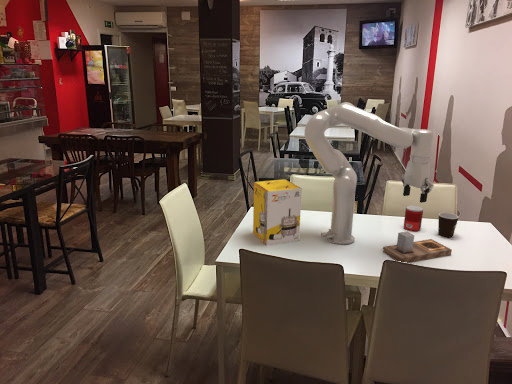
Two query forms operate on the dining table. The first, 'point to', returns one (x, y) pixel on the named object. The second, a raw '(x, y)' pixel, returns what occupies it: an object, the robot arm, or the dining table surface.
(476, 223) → the dining table surface
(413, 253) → the socket board
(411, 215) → the canned food
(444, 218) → the coffee mug
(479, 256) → the dining table surface
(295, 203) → the packaging box
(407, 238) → the metal block
